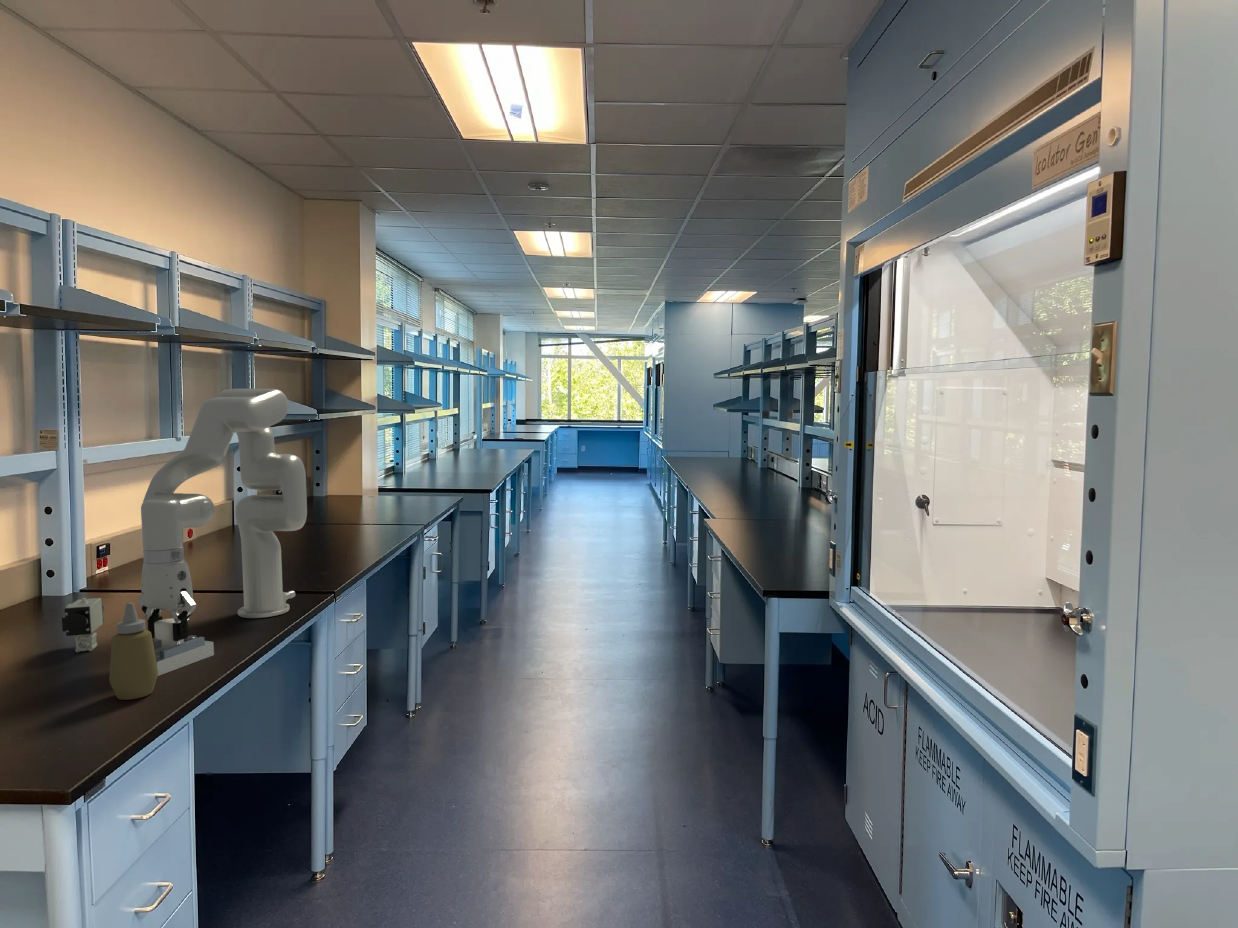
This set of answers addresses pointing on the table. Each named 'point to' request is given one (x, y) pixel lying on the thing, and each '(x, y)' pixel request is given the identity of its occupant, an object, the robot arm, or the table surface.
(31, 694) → the table surface
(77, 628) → the pneumatic valve
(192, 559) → the table surface
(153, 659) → the squeeze bottle
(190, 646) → the grey fixture tray
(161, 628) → the white rounded cylinder
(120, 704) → the table surface
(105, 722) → the table surface
